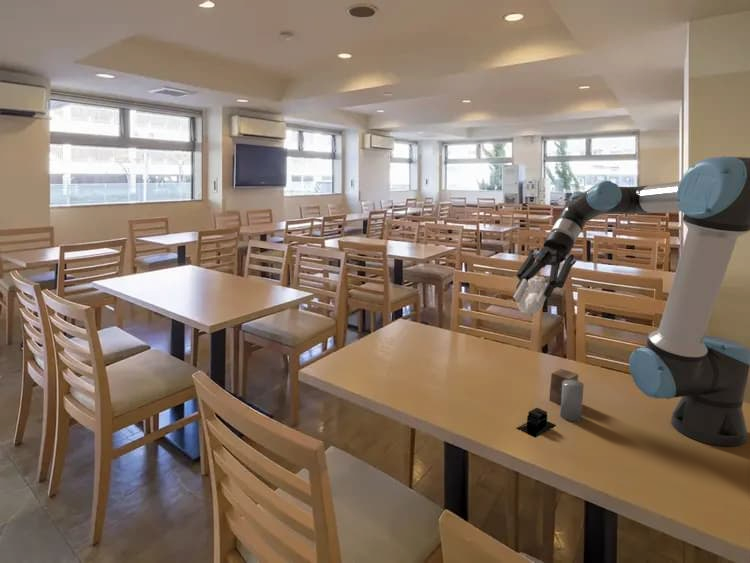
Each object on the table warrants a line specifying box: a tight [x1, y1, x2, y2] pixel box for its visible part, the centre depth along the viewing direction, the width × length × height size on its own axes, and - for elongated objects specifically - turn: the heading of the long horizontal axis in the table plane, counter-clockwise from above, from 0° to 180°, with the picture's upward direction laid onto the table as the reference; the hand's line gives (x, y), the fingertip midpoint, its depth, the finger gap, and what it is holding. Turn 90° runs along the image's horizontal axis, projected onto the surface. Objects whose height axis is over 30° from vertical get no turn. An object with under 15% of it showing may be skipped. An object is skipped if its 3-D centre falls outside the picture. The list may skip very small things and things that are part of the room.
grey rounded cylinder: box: [559, 380, 585, 422], centre depth 124 cm, size 5×5×9 cm
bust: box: [517, 274, 548, 315], centre depth 136 cm, size 12×8×11 cm
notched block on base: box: [515, 407, 557, 439], centre depth 119 cm, size 12×7×5 cm, turn 129°
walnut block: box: [548, 368, 579, 406], centre depth 133 cm, size 5×5×8 cm
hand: (526, 302), depth 133 cm, fingers closed on bust, 6 cm apart
